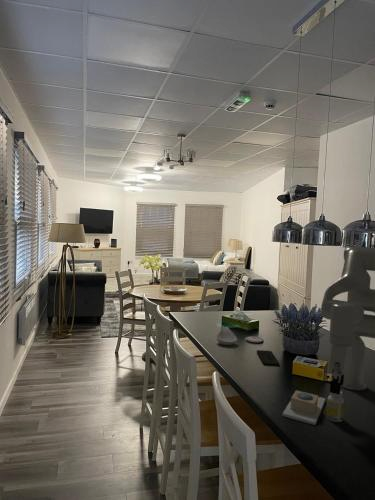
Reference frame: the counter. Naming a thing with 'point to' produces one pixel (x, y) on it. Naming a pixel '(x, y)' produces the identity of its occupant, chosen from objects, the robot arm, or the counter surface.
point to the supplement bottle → (335, 407)
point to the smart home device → (267, 358)
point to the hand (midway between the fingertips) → (336, 388)
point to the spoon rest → (226, 337)
